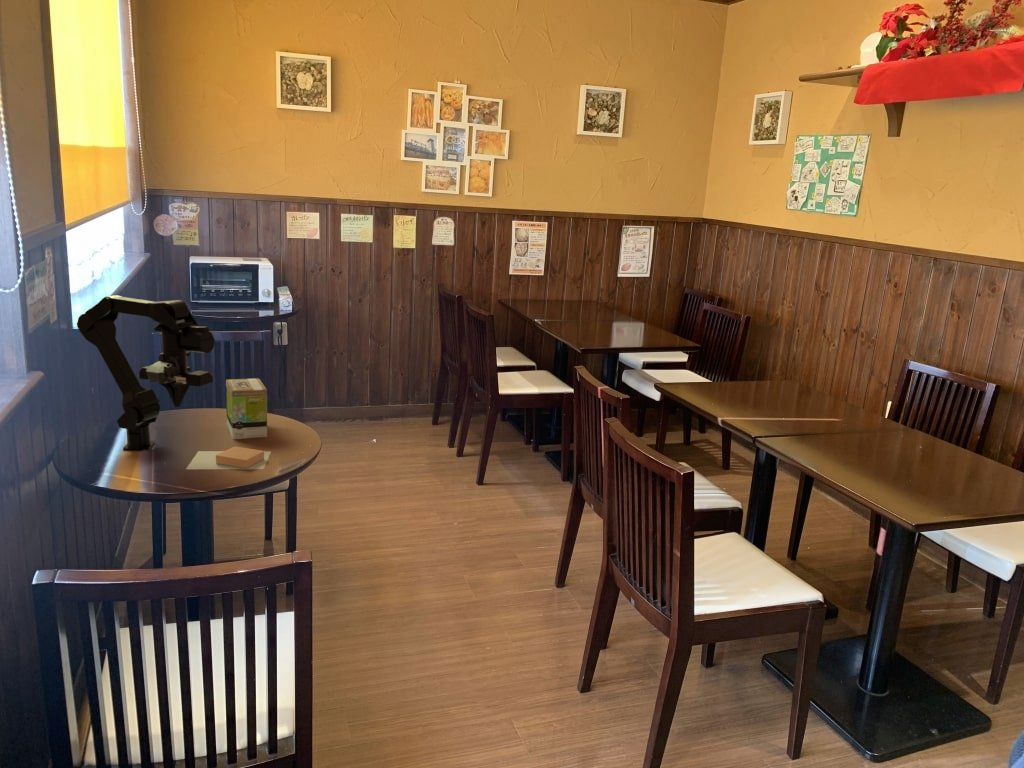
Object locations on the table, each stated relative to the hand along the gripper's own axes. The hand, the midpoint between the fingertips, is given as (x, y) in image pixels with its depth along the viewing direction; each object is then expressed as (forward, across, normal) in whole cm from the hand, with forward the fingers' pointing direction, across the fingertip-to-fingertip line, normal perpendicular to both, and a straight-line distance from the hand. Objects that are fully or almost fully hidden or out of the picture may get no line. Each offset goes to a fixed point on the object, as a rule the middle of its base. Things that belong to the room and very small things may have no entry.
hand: (177, 406), depth 205 cm
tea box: (+13, +5, +24) cm, 28 cm away
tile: (+11, +14, 0) cm, 18 cm away
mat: (+13, +16, 0) cm, 20 cm away
